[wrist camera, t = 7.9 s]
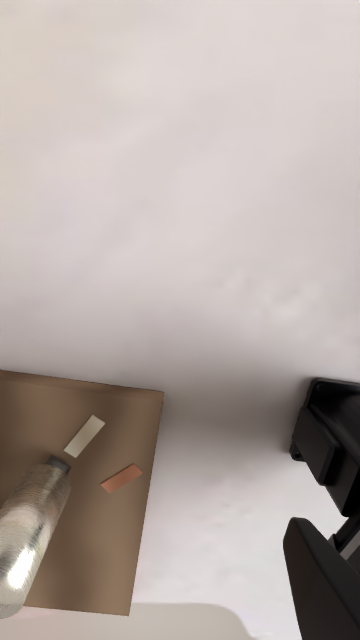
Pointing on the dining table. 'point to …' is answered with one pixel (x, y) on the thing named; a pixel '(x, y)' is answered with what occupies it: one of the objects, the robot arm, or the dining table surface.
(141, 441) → the board
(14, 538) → the lever
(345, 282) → the dining table surface
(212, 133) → the dining table surface
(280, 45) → the dining table surface
